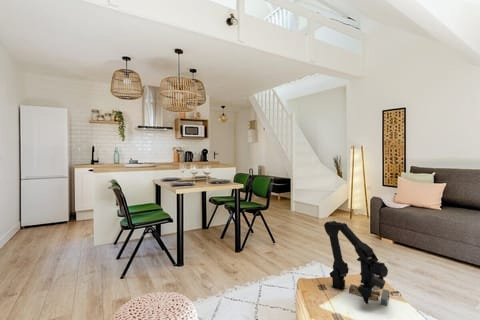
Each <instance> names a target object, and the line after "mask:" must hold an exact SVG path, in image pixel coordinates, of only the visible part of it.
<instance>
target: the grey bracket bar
mask: <svg viewBox="0 0 480 320" xmlns="http://www.w3.org/2000/svg"><path fill="white" fill-rule="evenodd" d="M381 291H382V292H381V294H380V306H384V307H388V300H389V299H388V298H390V290H389V289H385V288H383V289H382V290H381Z"/></svg>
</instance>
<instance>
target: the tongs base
mask: <svg viewBox="0 0 480 320" xmlns="http://www.w3.org/2000/svg"><path fill="white" fill-rule="evenodd" d="M350 286H352V287H355V288H357V290H358V287H359V285H356V284H353V283H352V284H350V285H349V287H350ZM355 293H356V290H353V289H349V288H348V294H351V295H353V294H355ZM372 294H374V295H378V296H379V298H381V291H378V290H377V289H372Z"/></svg>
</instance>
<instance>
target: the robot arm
mask: <svg viewBox="0 0 480 320" xmlns="http://www.w3.org/2000/svg"><path fill="white" fill-rule="evenodd" d="M323 227H324V230H325V233H326V234H327V236H328V237H329V241H330V246H331V250H332V256H333V264H332V271H331V272H329V276H330V278H332V285H331V288H332V289H335V290H340V291H344V289H345V288H346V279H345V277H347V275H348V273H349V271H350V269H349V266H348V265H349V264H348V262H345V261H344V259H343V254H342V250H341V245H340V239H339V236H338V235H339V232H341V233H342V234H343V236H344V237H345V238H346V239H347V241H348V242H349V243H351V245H352V246H353V248H354V251H355V253H356V254H357V256H358V258H356V261H357V262H359V263H360V272H359V273H360V274H359V275H360V278H361V279H360V284H359V285H358V286H359V287H358V292H360V293H361V295H362V296H361V297H362V299H363V301H364V302H365V304H366V305H368V304H369V300H370V299H369V297H371V294H372V290H373V289H372V287H374V286H377V287H378V289H381V290H383V289H384V286H385V284H386V280H385V279H384V278H387V276H388V273H389V270H388V267H387V266H386V264H385V263H384V262H380V261H379V259H378V257H377V256H376V254H375V252H374V250H373V248H372V247H370V246H369V245H368V244H367V243H365V242H363V241H362V240H361V239H360V238H359V237H358V236H357V235H356V234H355V233H354V232H353V231H352V230H351V228H350V227H349V226H348V224H347V223H345V222H341V221H340V222H337V221H336V220H332V221H326V222H324V224H323ZM370 257H372V258H371V259H367V258H370ZM374 274H376V275H378V276H377V277H376V276H374Z"/></svg>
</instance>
